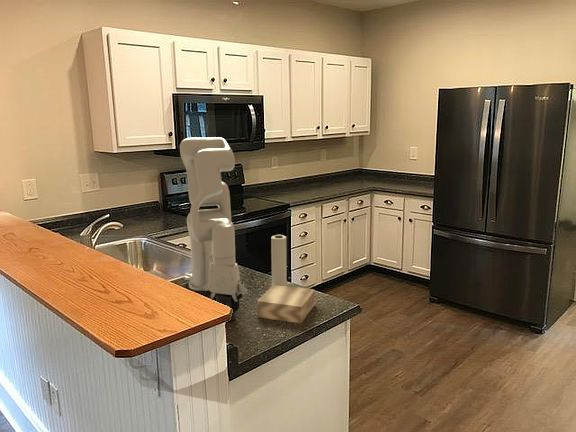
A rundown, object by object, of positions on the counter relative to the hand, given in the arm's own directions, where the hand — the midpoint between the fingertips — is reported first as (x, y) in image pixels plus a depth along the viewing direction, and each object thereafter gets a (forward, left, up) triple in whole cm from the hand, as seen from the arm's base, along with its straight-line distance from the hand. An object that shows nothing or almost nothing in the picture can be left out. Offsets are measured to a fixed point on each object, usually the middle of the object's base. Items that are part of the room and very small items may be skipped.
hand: (225, 309), depth 159 cm
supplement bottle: (0, 0, -4) cm, 4 cm away
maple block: (+18, +12, -3) cm, 22 cm away
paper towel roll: (+8, +33, -4) cm, 34 cm away
